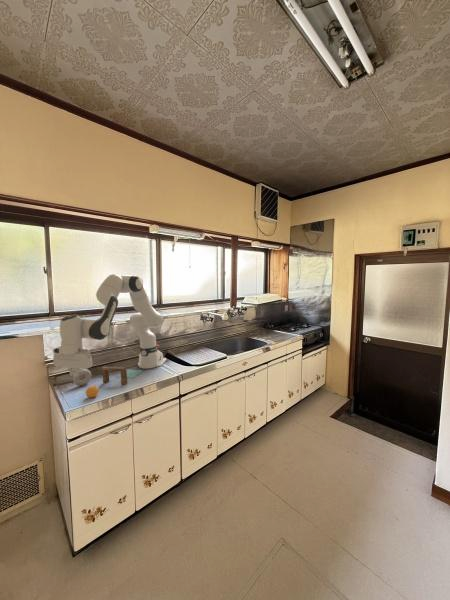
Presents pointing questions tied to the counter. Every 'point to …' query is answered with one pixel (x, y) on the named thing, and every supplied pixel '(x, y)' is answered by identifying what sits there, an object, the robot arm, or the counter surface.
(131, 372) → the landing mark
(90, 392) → the ball
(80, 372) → the donut
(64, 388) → the counter surface
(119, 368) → the bridge
